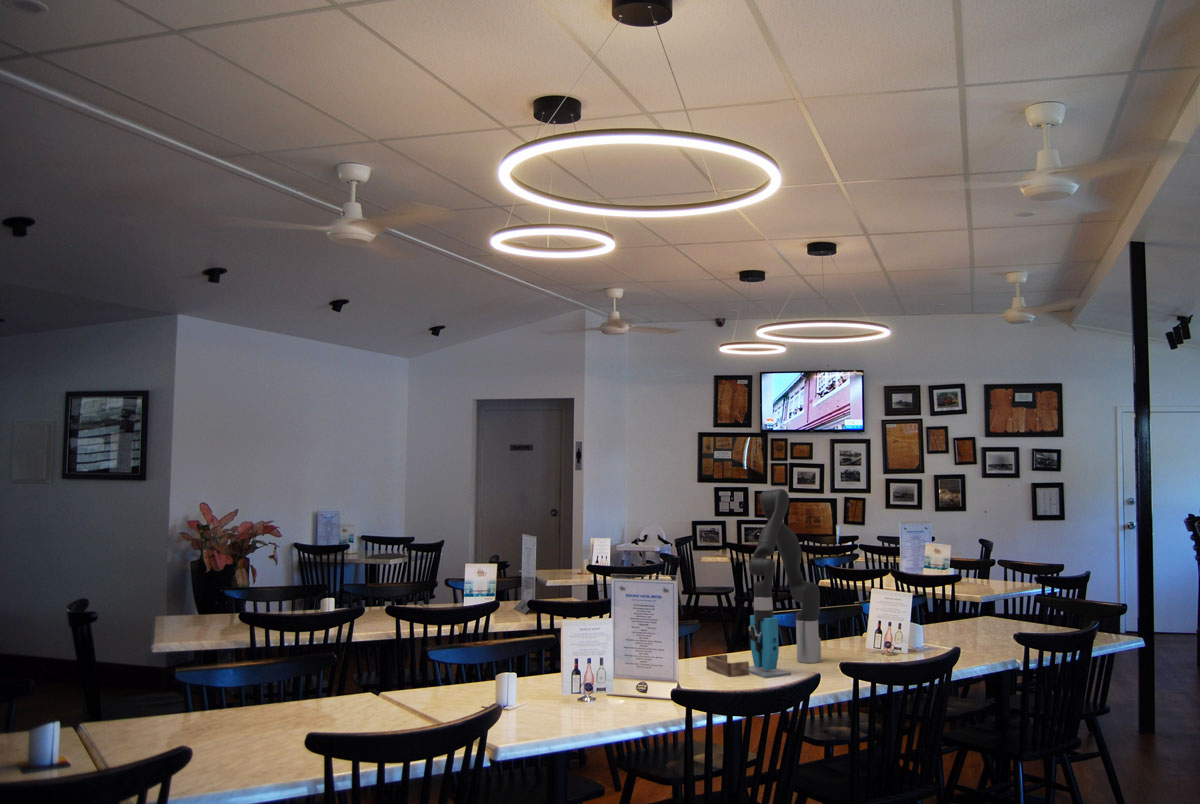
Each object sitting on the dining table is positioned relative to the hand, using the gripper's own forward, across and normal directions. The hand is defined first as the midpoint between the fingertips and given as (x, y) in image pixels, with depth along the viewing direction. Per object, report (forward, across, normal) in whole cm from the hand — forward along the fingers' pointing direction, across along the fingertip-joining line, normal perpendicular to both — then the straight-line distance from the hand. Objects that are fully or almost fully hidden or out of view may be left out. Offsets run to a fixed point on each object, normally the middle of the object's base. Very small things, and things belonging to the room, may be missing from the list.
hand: (764, 651), depth 362 cm
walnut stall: (+8, +12, -8) cm, 17 cm away
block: (+7, 0, 0) cm, 7 cm away
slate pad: (+8, 0, 0) cm, 8 cm away
